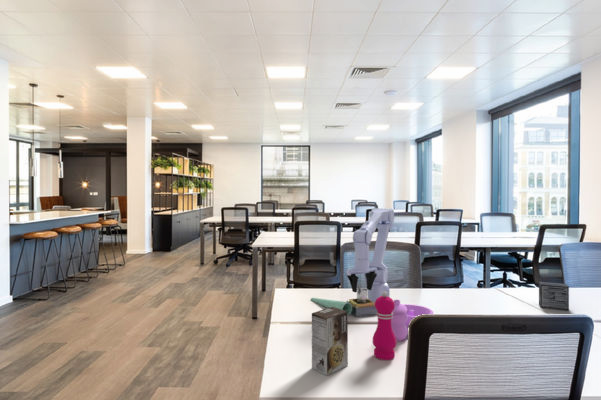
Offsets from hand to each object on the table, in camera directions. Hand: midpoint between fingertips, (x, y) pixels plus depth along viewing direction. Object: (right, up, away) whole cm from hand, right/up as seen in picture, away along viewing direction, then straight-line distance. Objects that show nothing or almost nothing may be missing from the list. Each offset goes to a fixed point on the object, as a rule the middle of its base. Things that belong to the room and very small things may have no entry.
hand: (361, 290), depth 161 cm
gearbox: (0, -9, 0) cm, 9 cm away
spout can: (0, -5, 0) cm, 5 cm away
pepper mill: (0, -10, -43) cm, 44 cm away
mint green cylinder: (-14, -9, +7) cm, 18 cm away
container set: (+13, -10, -21) cm, 27 cm away
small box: (+86, -9, +8) cm, 87 cm away
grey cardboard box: (-17, -10, -51) cm, 54 cm away
